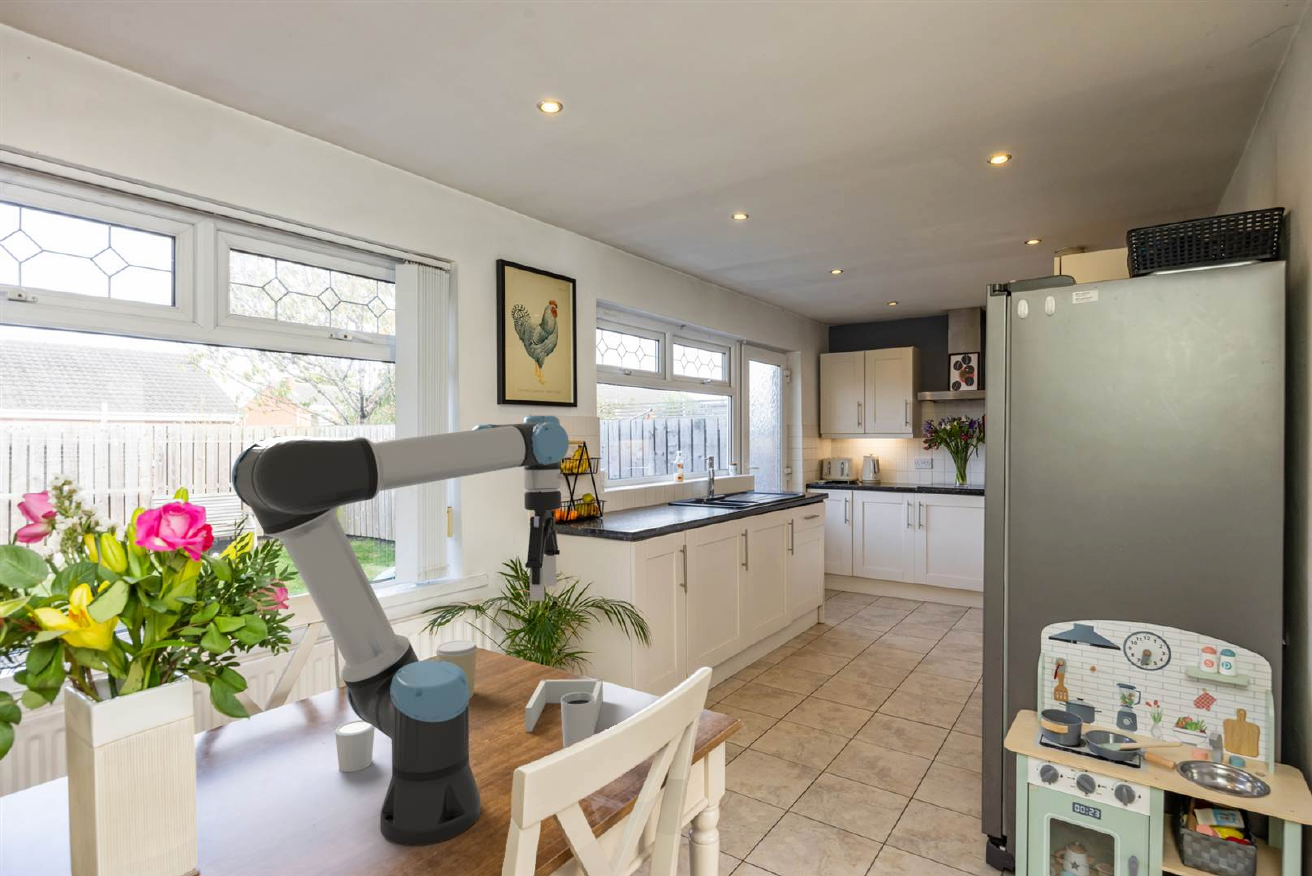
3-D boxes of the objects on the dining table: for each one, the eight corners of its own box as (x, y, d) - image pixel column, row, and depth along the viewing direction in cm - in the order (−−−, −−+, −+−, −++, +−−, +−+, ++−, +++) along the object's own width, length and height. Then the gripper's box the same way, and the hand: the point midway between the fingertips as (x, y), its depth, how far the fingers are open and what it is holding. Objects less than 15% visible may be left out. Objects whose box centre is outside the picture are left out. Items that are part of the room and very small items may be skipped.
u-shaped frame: (525, 732, 138) (525, 707, 138) (541, 701, 155) (541, 679, 155) (594, 732, 138) (593, 707, 138) (602, 701, 155) (602, 679, 155)
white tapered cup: (331, 776, 121) (331, 737, 121) (338, 758, 127) (338, 722, 128) (372, 770, 123) (372, 732, 123) (377, 754, 129) (377, 717, 129)
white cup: (598, 743, 133) (598, 692, 133) (591, 758, 126) (591, 705, 126) (565, 741, 134) (565, 691, 134) (557, 757, 127) (556, 704, 127)
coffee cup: (433, 693, 161) (433, 643, 161) (473, 686, 165) (473, 638, 165) (438, 706, 153) (438, 653, 153) (480, 699, 157) (480, 648, 157)
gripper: (549, 494, 126) (550, 607, 126) (570, 486, 151) (571, 580, 151) (510, 494, 126) (511, 607, 126) (537, 486, 151) (538, 580, 151)
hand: (543, 593), depth 139 cm, fingers open, 13 cm apart
